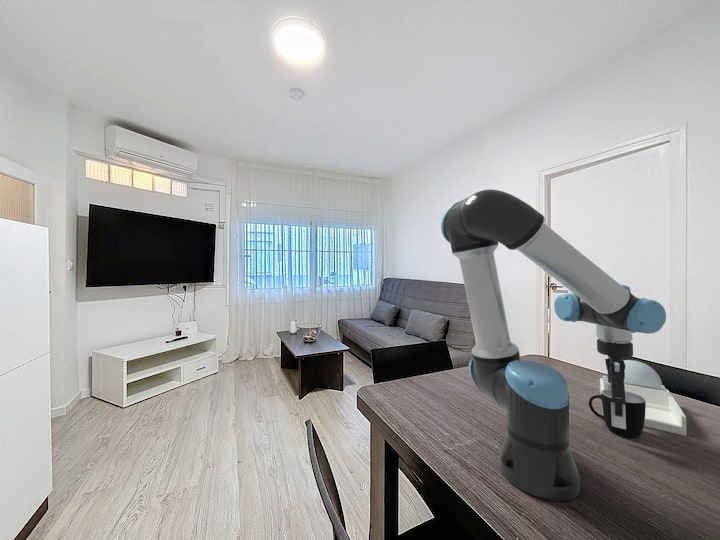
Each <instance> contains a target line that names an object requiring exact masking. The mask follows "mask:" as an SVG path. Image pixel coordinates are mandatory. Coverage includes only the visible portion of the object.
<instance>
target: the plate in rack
mask: <svg viewBox="0 0 720 540" xmlns="http://www.w3.org/2000/svg"><path fill="white" fill-rule="evenodd" d="M622 361H624V363H625V370H624V371H625V379H624V384H626V385H631V386H637V387H643V388H649V389H655V390H662V385H663V382H662V378H661V377H660V375H659V374H658V373H657V372H656V370H654V368H652V367H651V366H649V365H648V364H646V363H644V362H641V361H639V360H633V359H626V360H625V359H623V360H622Z"/></svg>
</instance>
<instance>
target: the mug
mask: <svg viewBox="0 0 720 540" xmlns="http://www.w3.org/2000/svg"><path fill="white" fill-rule="evenodd" d="M608 398H610V399H612V393H611V389H604V390H602V391H601V394H595V395H592V396H591V397H590V398H589V400H588V406H589V409H590V411H591V412H592V413H593V414H594V415H595V416H597V417H598V418H599V419H601V420H602V421H604V423H605V425H606V427H607V429H608V430H609V431H610V432H611V433H613V434H614V435H616V436H619V437H622V438H626V439H633V440H635V439H638V438H640V437H641V436H642V433H643V430H644V427H645V426H644V421H645V409H646V402H645V399H644V398H643V397H641V396H639V395H637V394H634V393H631V392H628V391H625V401H626V405H625V412H626V429H622V428H618V427H613V426H612V414H611V402H609V401H608ZM615 398H618V397H615ZM595 399H600V402H601V401H602V403H601V409H602V408H603V412H602V414H600V413H598V412H597V411H596V410H595V409H594V406H593V401H594V400H595ZM619 399H622V398H619ZM603 415H604V416H603Z"/></svg>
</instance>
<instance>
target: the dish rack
mask: <svg viewBox="0 0 720 540" xmlns="http://www.w3.org/2000/svg"><path fill="white" fill-rule="evenodd" d="M607 376H608V375H602V377H600V378H599V393H600V394H599V395H601V391H602V390H604V389H608V377H607ZM609 384H611V383H609ZM624 387H625V391H628V392H631V393H634V394H637V395H639V396H641V397H643V398H644V399H645V402H646V409H645V421H644V427H646V428H650V429H651V428H652V429H655V430H659V431H663V432H667V433H668V432H669V433H672V434H677V435H682V436H685V437H686V436H687V416H686V414H685V413H684V412H683V410H682V408H681V407H680V406H679V404H678V402H677V400H675V399H674V397H673V395H672V394H671V392H670V391H669V389H667V388H666V387H665V385H663V384H662V390H655V389H649V388H643V387H637V386H631V385H626V384H624ZM600 402H601V404H602V401H601V400H600ZM601 409H602V410H601V411H602V413H603V408H602V407H601ZM602 416H604V415H603V414H602Z"/></svg>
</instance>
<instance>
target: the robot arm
mask: <svg viewBox="0 0 720 540" xmlns="http://www.w3.org/2000/svg"><path fill="white" fill-rule="evenodd" d="M545 222H546V217H545V216H544V215H543V214H542V213H540V212H539V211H538V210H537V209H535V208H534V207H532V205H531V204H529V203H527V202H525V201H524V200H523V199H521V198H519V197H516V196H515V195H512V194H511V193H508V192H505V191H502V190H499V189H498V190H497V189H483V190H480V191H477V192H475V193H473V194H472V195H471V194H470V195H469V196H468V197H466V198H463V199H462V200H460V201H457V202H455V203H453V204H452V205H451V206H450V207H449V208H448V209H447V210H446V211H445V212H444V215H443V216H442V219H441V223H440V230H441V234H442V236H443V238H444V239H445V241H446V242H448V243H449V244H450V248H451V254H452V255H453V256H455V257H456V258H458V260H459V263H460V269H461V276H462V278H463V283H464V288H465V289H464V290H465V295H466V300H467V304H468V305H467V306H468V310H469V315H470V320H471V326H472V330H473V331H472V332H473V335H474V340H475V341H474V342H475V345H474V346H473V347H472V349H471V359H469V363H468V373H469V377H470V379H471V381H472V382H473V384H474V385H475V387H476V388H478V389H479V391H480V392H482V393H483V394H485V395H486V396H487V397H489V398H490V399H491V400H493V402H495V403H496V404H498V405H499V406H500V407H501V408H503V409H504V410H505V411H506V434H505V437H504V440H503V442H502V445H501V448H500V451H499V454H498V459H499V460H498V464H499V470H500V471H501V474H502V475H503V476H504V477H505V479H507V480H508V481H509V483H511V484H512V485H513V486H515V487H517V488H518V489H519V490H522V491H523V492H525V493H527V494H529V495H532V496H534V497H537V498H540V499H543V500H548V501H551V502H552V501H554V502H566V501H567V502H568V501H572V500H573V499H576V498H577V497H578V496H579V495H580V492H581V475H580V472H579V470H578V468H577V464H576V462H575V459H574V457H573V454H572V452H571V449H570V393H569V389H568V382H567V381H568V380H566V378H565V376H564V375H563V374H562V373H561V372H560V371H559V370H557V369H556V368H553V367H552V366H550V365H548V364H544V363H539V362H537V361H534V360H527V359H521V355H520V349H519V346H518V345H516V344H515V343H513V342H512V340H511V337H510V333H509V332H510V331H509V326H508V320H507V317H506V311H505V307H504V302H503V301H504V300H503V296H502V291H501V284H500V280H499V279H500V278H499V273H498V269H497V264H496V259H495V254H494V253H495V251H496V250H497V248H498V247H499V244H502V245H503V246H505V248H507V249H508V250H509V251H516V250H517V251H518V252H519V253H521V254H522V255H523V256H525V257H526V258H528V259H529V260H530V261H531V262H533V263H534V264H535V265H536V266H538V267H539V268H540V269H542V271H544V272H546V273H547V274H548V275H549V276H551V277H552V278H553V279H555V280H556V281H557V282H558V283H560V284H561V285H562V286H564V287H565V288H566V289H567V290H569V291H570V292H569V293H564V294H560V295H558V296H557V297H556V298H555V300H554V302H553V309H554V312H555V314H556V316H557V318H559V319H560V320H561V321H564V322H573V323H577V322H585V323H590V324H593V325H596V326H595V327H596V329H595V331H596V332H595V335H596V338H597V339H596V348H597V353H599V354H600V355H603V356H607V358H605V359H604V360H605V367H606V371H607V375H606V376H607V377H608V389H611V393H612V399H610V398H608V401H609V402H611V414H612V426H613V427H618V428H622V429H626V412H625V405H626V401H625V387H624V379H625V371H624V370H625V363H624V361H623V360H622V358H631V357H633V356H634V343H632V341H633V334H635V333H642V334H645V335H646V334H648V335H649V334H655V333H657V332H659V331H660V330H661V329H662V328H663V327H664V325H665V323H666V322H667V313H666V310H665V309H666V308H665V307H664V306H663V305H662V304H661V303H660V302H659V301H656V300H653V299H648V298H646V297H641V298H638V297H636V296H635V295H634V294H633V293H632V292H631V287H630V286H628V285H626V284H621V283H619V282H618V281H616V280H615V279H614V278H613V277H611V276H610V275H609V274H608V273H606V271H604V270H603V269H601V268H600V267H599V266H597V264H595V263H594V262H593V261H592V260H590V259H589V258H588V257H587V256H585V255H584V254H583V253H582V252H580V251H579V250H578V249H577V248H576V247H574V246H573V245H572V244H570V243H569V242H568V241H567V240H565V239H564V237H562V236H561V235H559V234H558V233H557V232H556V231H554V230H553V229H552V228H550V227H549V226H548V225H547V224H545ZM609 383H611V384H609ZM615 397H618V398H615ZM619 398H622V399H619Z"/></svg>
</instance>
